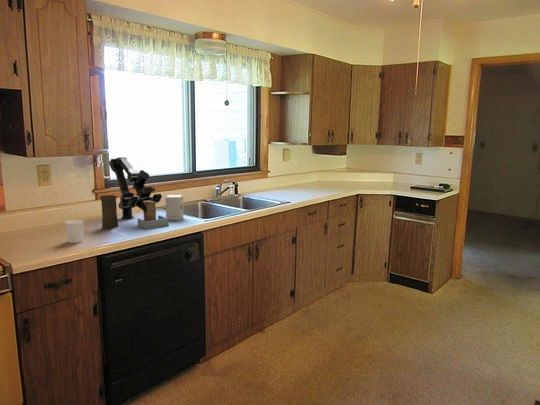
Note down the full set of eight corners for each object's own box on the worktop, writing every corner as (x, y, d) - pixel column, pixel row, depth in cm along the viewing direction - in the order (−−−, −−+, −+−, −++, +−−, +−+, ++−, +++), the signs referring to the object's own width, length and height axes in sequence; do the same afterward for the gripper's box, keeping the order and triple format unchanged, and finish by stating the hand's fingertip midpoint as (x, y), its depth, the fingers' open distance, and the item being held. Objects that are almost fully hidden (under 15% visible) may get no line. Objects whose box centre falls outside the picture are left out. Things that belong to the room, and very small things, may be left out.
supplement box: (180, 221, 244) (180, 197, 242) (165, 221, 244) (165, 197, 242) (183, 218, 253) (183, 194, 251) (169, 218, 253) (168, 194, 251)
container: (104, 230, 221) (102, 198, 218) (99, 227, 228) (97, 195, 225) (121, 228, 227) (119, 196, 224) (115, 225, 234) (114, 194, 231)
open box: (137, 227, 229) (137, 218, 229) (159, 223, 239) (159, 215, 238) (146, 230, 222) (146, 221, 221) (168, 226, 232) (168, 218, 231)
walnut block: (143, 220, 233) (143, 201, 231) (151, 219, 236) (151, 200, 234) (148, 222, 229) (147, 203, 227) (156, 221, 233) (155, 202, 230)
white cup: (64, 241, 200) (62, 221, 198) (81, 238, 206) (79, 219, 204) (70, 244, 195) (68, 224, 193) (87, 241, 200) (85, 221, 198)
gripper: (129, 182, 225) (139, 205, 219) (159, 180, 238) (170, 201, 232) (124, 194, 232) (133, 216, 226) (153, 191, 245) (163, 212, 239)
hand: (150, 211), depth 231 cm, fingers closed on walnut block, 5 cm apart
